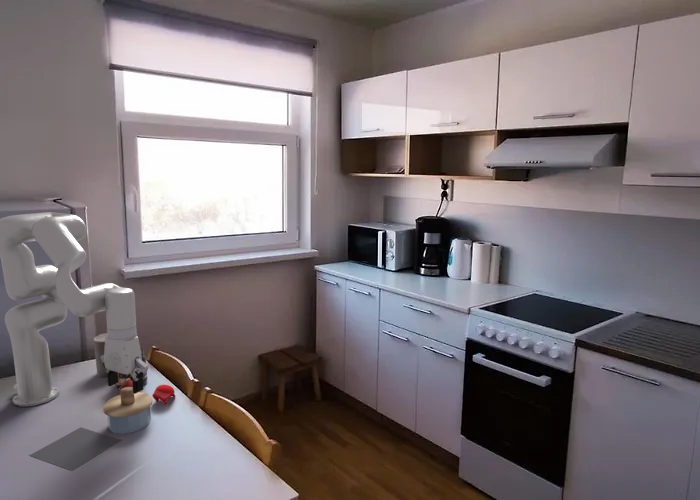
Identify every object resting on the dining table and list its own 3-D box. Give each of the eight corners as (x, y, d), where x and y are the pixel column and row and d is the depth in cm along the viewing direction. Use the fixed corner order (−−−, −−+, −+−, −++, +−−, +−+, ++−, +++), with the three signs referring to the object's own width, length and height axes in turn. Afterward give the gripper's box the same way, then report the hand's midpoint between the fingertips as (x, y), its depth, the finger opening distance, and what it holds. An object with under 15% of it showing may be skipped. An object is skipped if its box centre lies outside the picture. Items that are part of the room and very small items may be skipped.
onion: (132, 407, 154) (130, 383, 153) (115, 405, 155) (113, 382, 154) (143, 398, 160) (141, 375, 158) (127, 397, 161) (125, 374, 160)
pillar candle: (132, 370, 182) (129, 331, 179) (108, 380, 173) (104, 339, 171) (114, 365, 186) (111, 327, 184) (90, 374, 178) (86, 335, 175)
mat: (29, 457, 128) (29, 455, 128) (80, 429, 142) (80, 427, 142) (72, 473, 122) (72, 470, 122) (121, 441, 136) (121, 439, 135)
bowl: (100, 429, 141) (98, 410, 140) (131, 412, 151) (129, 394, 150) (129, 438, 137) (127, 418, 136) (158, 419, 147) (157, 401, 146)
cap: (162, 400, 152) (176, 385, 156) (148, 391, 154) (161, 376, 157) (168, 411, 158) (181, 396, 162) (154, 402, 160) (167, 387, 163)
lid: (92, 411, 140) (91, 395, 139) (129, 392, 152) (128, 376, 151) (127, 421, 135) (125, 404, 134) (162, 400, 147) (161, 384, 146)
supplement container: (107, 389, 167) (104, 355, 164) (127, 376, 177) (125, 344, 175) (135, 392, 164) (132, 358, 162) (154, 379, 174) (151, 346, 172)
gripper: (88, 330, 139) (92, 387, 142) (134, 341, 132) (137, 400, 136) (110, 323, 146) (114, 376, 149) (155, 332, 139) (158, 389, 143)
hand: (125, 388), depth 142 cm, fingers open, 9 cm apart
